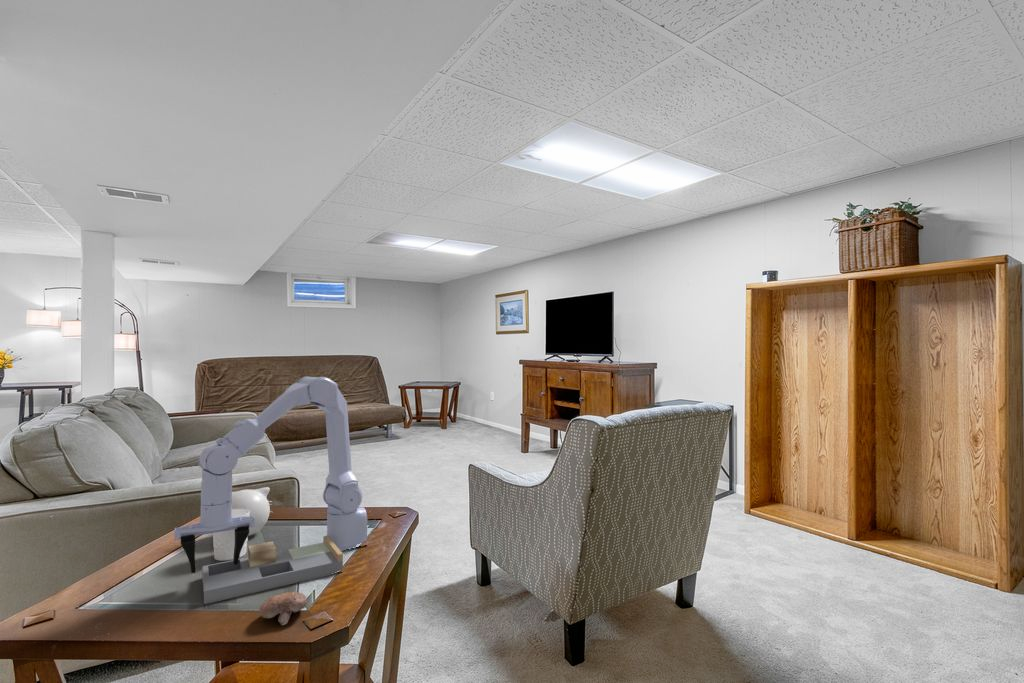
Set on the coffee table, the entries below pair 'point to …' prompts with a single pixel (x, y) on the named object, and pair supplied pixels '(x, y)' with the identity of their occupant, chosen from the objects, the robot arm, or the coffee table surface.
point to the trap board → (270, 571)
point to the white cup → (228, 540)
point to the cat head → (253, 505)
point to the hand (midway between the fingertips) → (214, 567)
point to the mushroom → (283, 606)
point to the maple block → (261, 554)
